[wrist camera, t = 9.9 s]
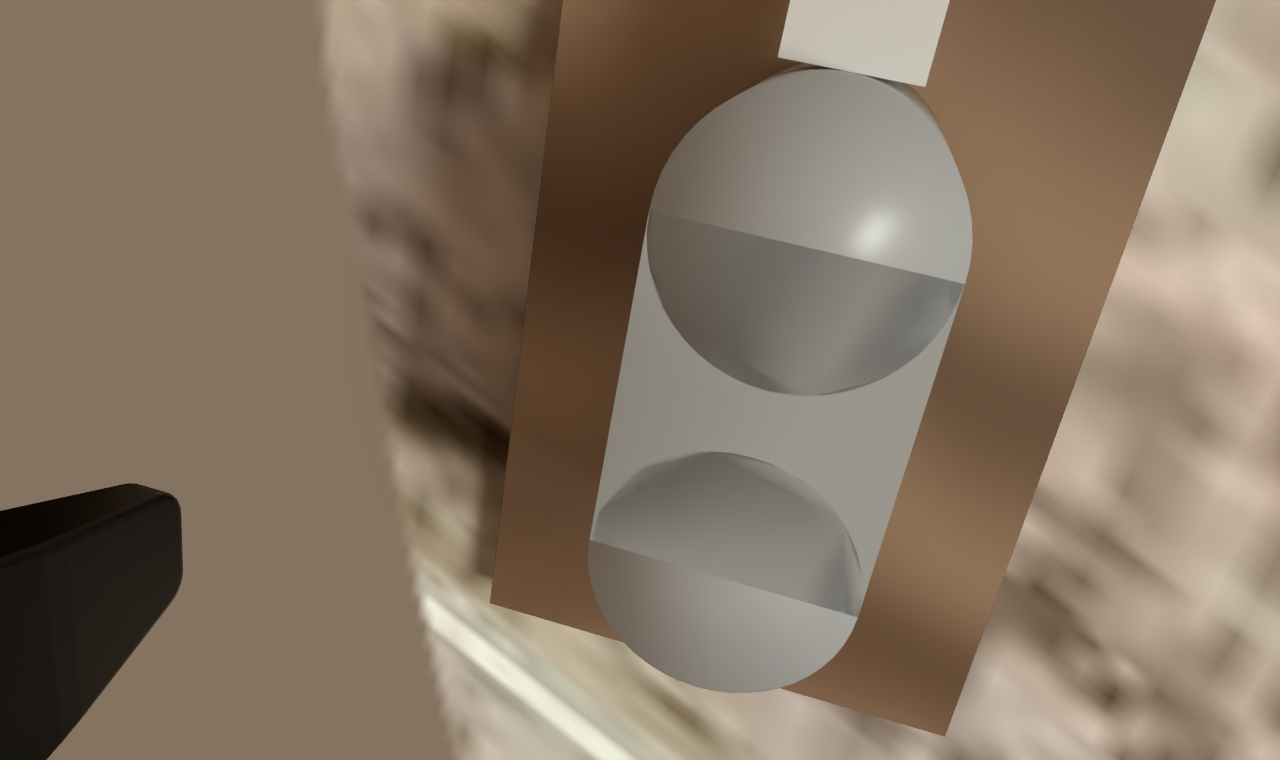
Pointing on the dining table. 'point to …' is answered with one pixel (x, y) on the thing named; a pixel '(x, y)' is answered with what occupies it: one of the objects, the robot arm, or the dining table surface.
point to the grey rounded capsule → (781, 354)
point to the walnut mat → (980, 333)
